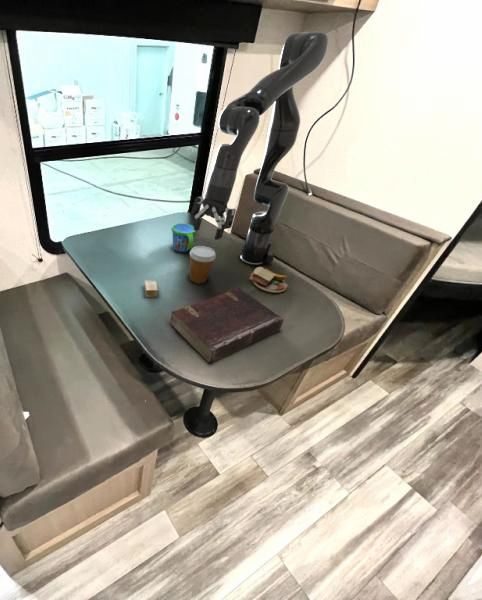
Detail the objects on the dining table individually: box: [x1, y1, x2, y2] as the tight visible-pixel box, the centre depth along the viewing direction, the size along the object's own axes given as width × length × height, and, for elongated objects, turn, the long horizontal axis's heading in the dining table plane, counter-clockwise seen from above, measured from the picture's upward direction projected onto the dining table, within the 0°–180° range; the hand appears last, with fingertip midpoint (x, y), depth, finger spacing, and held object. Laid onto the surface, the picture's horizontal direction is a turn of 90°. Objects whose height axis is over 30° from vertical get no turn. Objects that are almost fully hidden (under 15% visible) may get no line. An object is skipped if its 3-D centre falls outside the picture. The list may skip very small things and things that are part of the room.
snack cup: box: [170, 222, 197, 253], centre depth 139 cm, size 16×10×10 cm
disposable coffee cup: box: [189, 245, 217, 284], centre depth 118 cm, size 10×10×12 cm
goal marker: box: [143, 280, 159, 298], centre depth 113 cm, size 4×6×3 cm, turn 3°
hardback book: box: [169, 287, 284, 364], centre depth 98 cm, size 29×19×5 cm, turn 120°
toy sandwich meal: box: [249, 266, 289, 294], centre depth 119 cm, size 12×14×5 cm
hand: (206, 234), depth 103 cm, fingers open, 8 cm apart
